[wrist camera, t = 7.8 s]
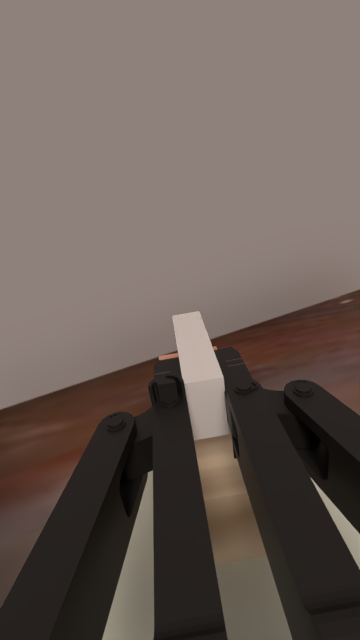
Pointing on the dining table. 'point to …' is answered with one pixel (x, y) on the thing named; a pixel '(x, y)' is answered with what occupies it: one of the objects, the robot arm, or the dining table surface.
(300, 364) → the dining table surface
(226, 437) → the block
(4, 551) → the dining table surface
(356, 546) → the board
